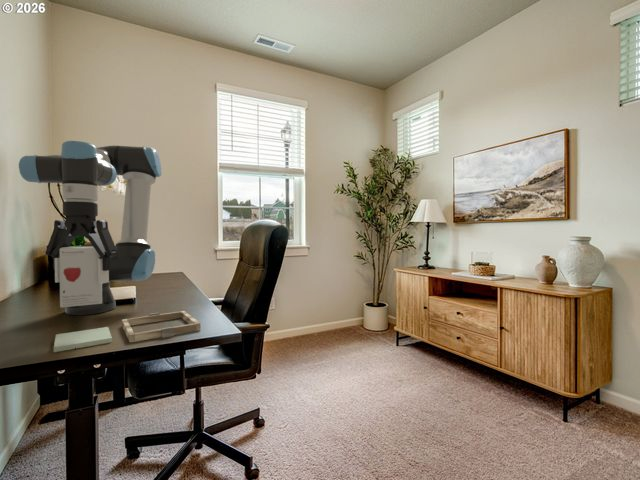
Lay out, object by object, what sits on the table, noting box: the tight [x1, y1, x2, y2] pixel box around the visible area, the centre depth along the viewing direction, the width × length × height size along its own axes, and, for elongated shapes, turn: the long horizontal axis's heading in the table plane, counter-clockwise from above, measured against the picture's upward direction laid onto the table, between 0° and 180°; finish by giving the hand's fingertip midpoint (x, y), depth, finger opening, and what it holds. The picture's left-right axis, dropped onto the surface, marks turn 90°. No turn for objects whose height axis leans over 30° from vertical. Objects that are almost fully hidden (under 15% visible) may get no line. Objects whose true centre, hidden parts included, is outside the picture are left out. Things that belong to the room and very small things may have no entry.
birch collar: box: [121, 310, 201, 343], centre depth 100 cm, size 20×18×2 cm
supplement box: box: [59, 245, 102, 308], centre depth 88 cm, size 9×9×15 cm
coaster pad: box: [53, 326, 113, 353], centre depth 89 cm, size 12×12×1 cm
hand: (82, 282), depth 88 cm, fingers closed on supplement box, 12 cm apart
